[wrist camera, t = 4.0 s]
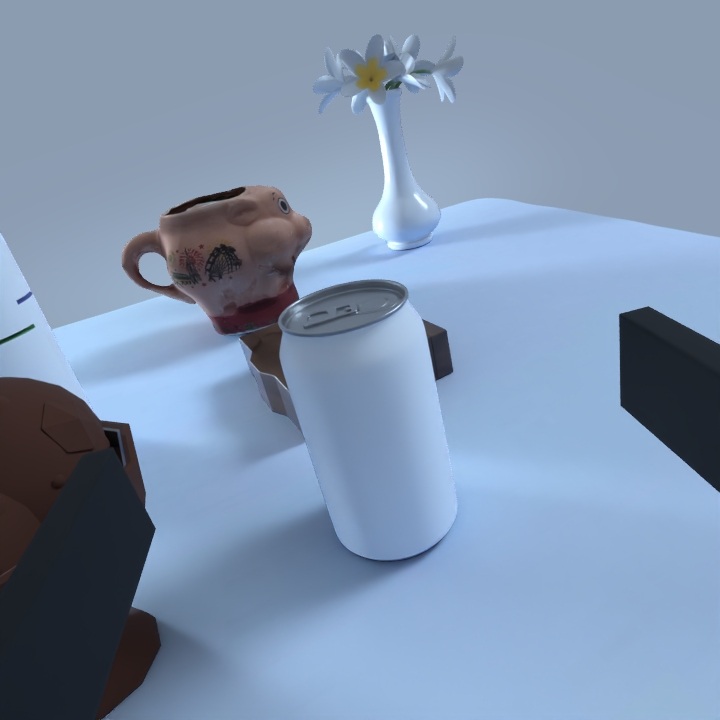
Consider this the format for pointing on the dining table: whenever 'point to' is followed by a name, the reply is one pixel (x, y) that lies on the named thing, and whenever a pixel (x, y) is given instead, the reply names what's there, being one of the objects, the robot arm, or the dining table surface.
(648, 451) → the dining table surface
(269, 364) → the holder
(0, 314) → the cylindrical container
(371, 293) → the can
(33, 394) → the ice cream bowl
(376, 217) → the flower vase
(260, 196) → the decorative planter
